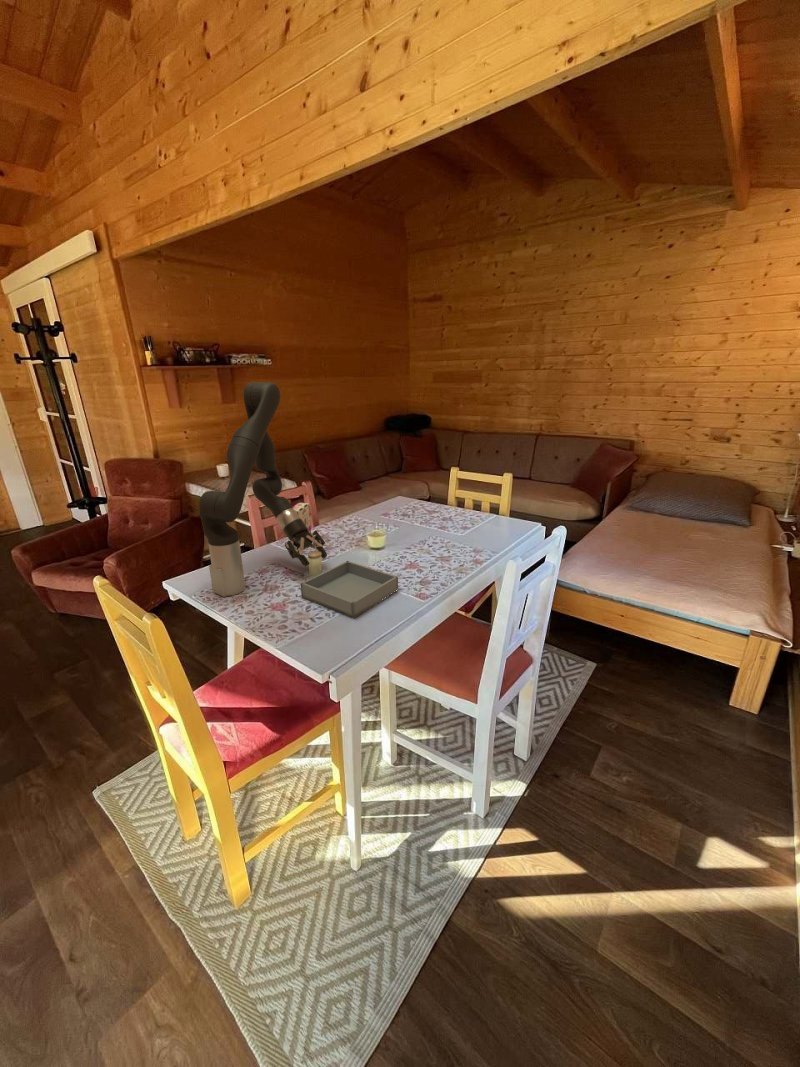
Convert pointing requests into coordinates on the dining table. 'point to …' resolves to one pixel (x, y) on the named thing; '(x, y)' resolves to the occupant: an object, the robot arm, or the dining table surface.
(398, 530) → the dining table surface
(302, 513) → the candy bar box
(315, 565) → the lidded yellow jar
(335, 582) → the bin
